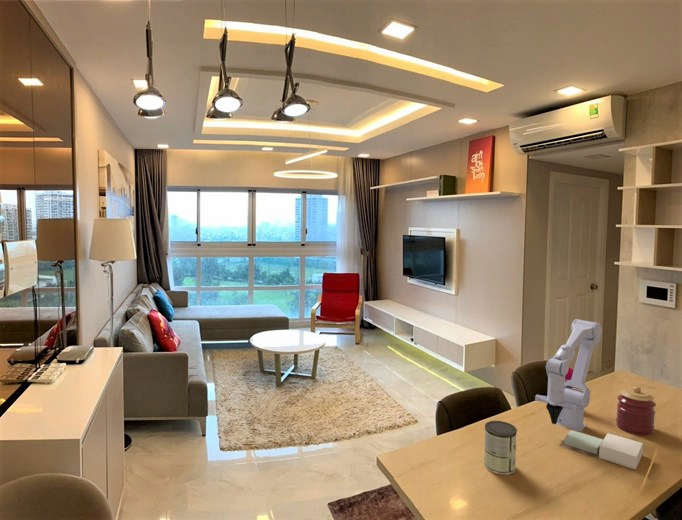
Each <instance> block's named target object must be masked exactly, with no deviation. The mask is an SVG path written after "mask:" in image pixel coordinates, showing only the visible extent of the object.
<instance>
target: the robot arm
mask: <svg viewBox="0 0 682 520" xmlns="http://www.w3.org/2000/svg"><path fill="white" fill-rule="evenodd" d="M570 328H571V329H570V330H571V333H570V336H569V338H568V339H567V341H566V343H565V344H562V345H560V347H558V348H559V349H558V350H557V351H556V353H555V354H554V356H553V357H550V358H549V359H547V361H546V365H545V370H546V375H547V378H548V379H547V395H540V394H536V395H535V397H534V400H535V402H540V403H541V402H542V403H545V404H546V406H545V408H546V410H547V412H548V414H549V417H550V420H551V424H552V425H557V426H560V427H565V428H567V429H571V430H573V431H577V432H582V431H583V430H584V429H585V427H586V426H587V424H586V423H584V419H585V409H586V408H587V407H588V406H589V404H590V400H591V390H590V389H589V387H588V386H587V385H586V379H587V376H588V371H589V368H590V365H591V364H590V363H591V361H592V360H591V359H592V356H593V353H594V348H595V346H596V345H598V344H599V343H600V340H601V337H602V333H603V329H602V325H601V323H600V322H595V321H589V320H583V319H578V318H576V319H574V320H573V321H572V323H571V327H570ZM578 346H579V349H578V352H577V357H576V361H575V364H574V368H573V370H574V371H573V375H572V379H571V380H569V381H567V382H565V375H566V374H567V373H568V369H569V368H570V367H569V366H570V363H571V361H572V360H573V359H574V356H575V355H576V351H575V350H576V348H577V347H578Z"/></svg>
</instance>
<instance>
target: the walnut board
mask: <svg viewBox="0 0 682 520" xmlns="http://www.w3.org/2000/svg"><path fill="white" fill-rule="evenodd" d="M558 446H559V447H561V448H564V449H567V450H571V451H574V452H577V453H580V454H583V455H586V456H588V457H592V458H595V459H598V460H600V461H604V462H607V463H610V464H613V465H616V466H620V467H621V468H624V469H625V468H626V469H629V470H632V471H634V472H635V471H636V470H635V469H632V468H629V467H626V466H623V465H620V464H617V463H614V462H611V461H607V460H604V459H601V458H599V452H598V454H594V453H591V452H587V451H584V450H581V449H578V448H575V447H572V446H569V445H566V444H564V439H563V440H562V441H561V443H560V444H559V445H558ZM642 456H643V453H642ZM639 463H640V462H639ZM639 463H638V465H639Z"/></svg>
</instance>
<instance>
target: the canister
mask: <svg viewBox="0 0 682 520" xmlns="http://www.w3.org/2000/svg"><path fill="white" fill-rule="evenodd" d="M619 393H620V394H618V396H617V399H618V403H617V404H616V407H617V408H616V409H617V411H616V418H615V423H616V426H617V427H618V428H619V429H621V430H623V431H624V432H627V433H630V434H633V435H637V436H651V435H653V434H654V431H655V418H656V417H655V415H656V410H655V407H656V406H657V403H656V401H654V400H655V397H654V396H653V395H652V394H650V393H649V392H648V391H645V390H643V389H641V387H640V386H638V385H637V386H634V387H632V388H630V387H628V388H624V389H622V390H620V391H619Z"/></svg>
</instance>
